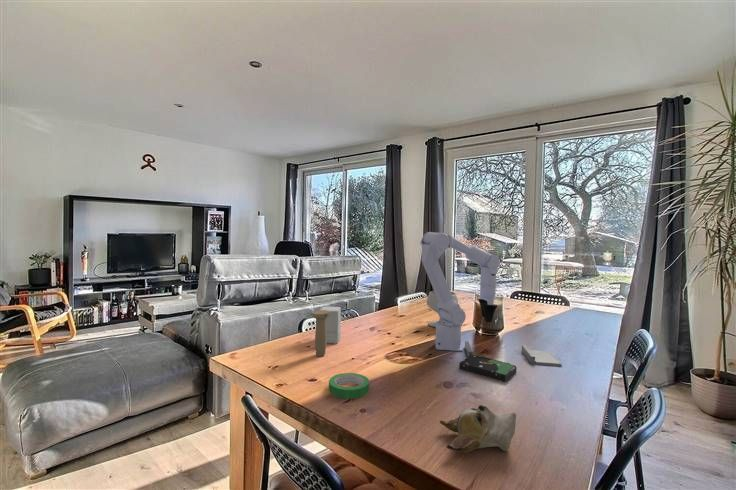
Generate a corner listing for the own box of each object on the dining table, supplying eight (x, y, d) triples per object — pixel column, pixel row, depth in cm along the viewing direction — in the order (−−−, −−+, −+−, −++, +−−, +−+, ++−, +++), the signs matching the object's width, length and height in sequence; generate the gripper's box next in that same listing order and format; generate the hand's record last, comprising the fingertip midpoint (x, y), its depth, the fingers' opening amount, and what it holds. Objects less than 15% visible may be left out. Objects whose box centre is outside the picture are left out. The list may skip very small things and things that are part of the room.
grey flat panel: (468, 359, 123) (468, 351, 122) (464, 347, 134) (465, 340, 134) (561, 366, 118) (561, 358, 118) (549, 353, 130) (549, 346, 130)
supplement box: (341, 338, 143) (341, 306, 142) (337, 344, 135) (338, 311, 135) (322, 337, 144) (323, 305, 143) (318, 343, 136) (318, 310, 136)
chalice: (420, 326, 162) (421, 293, 162) (433, 319, 174) (434, 289, 173) (450, 331, 154) (451, 297, 154) (461, 324, 166) (462, 292, 165)
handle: (332, 354, 124) (332, 311, 124) (318, 359, 120) (318, 315, 119) (322, 351, 128) (323, 309, 127) (308, 355, 123) (309, 312, 122)
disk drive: (458, 371, 114) (506, 384, 105) (458, 362, 114) (506, 374, 104) (471, 361, 122) (516, 373, 113) (471, 353, 122) (517, 364, 113)
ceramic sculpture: (525, 419, 68) (445, 419, 69) (526, 463, 68) (447, 463, 69) (507, 393, 79) (438, 394, 80) (508, 432, 79) (439, 432, 80)
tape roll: (347, 377, 106) (348, 369, 106) (377, 389, 99) (377, 379, 99) (320, 390, 98) (320, 381, 98) (350, 404, 91) (350, 393, 91)
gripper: (502, 288, 131) (501, 325, 132) (495, 282, 145) (493, 315, 146) (482, 287, 132) (481, 323, 133) (477, 281, 146) (476, 314, 147)
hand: (486, 319), depth 139 cm, fingers open, 7 cm apart
